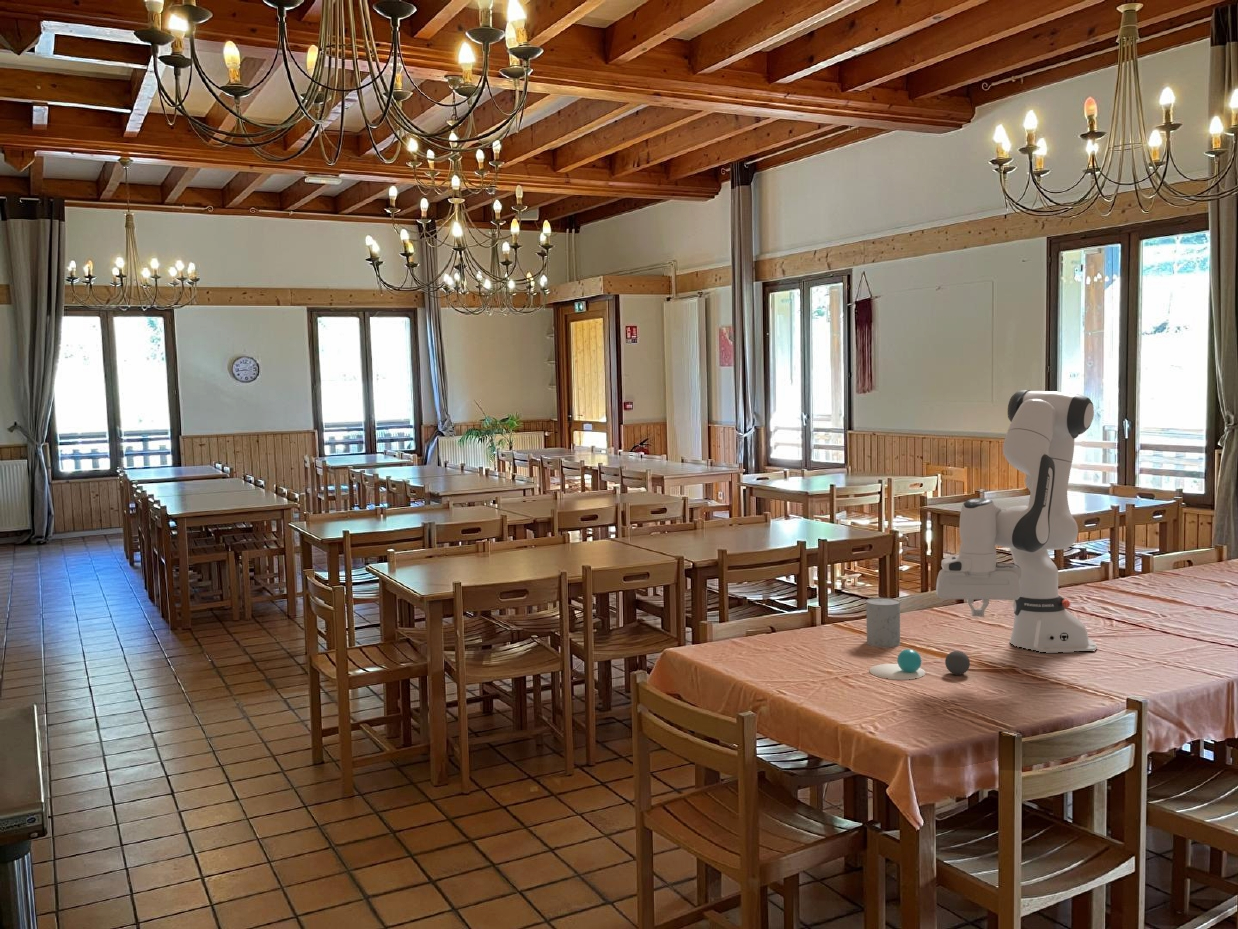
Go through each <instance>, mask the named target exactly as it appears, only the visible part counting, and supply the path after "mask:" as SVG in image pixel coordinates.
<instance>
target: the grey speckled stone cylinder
mask: <svg viewBox="0 0 1238 929" xmlns="http://www.w3.org/2000/svg"><path fill="white" fill-rule="evenodd" d="M865 603H866V608H865V609H866V644H867V645H869V646H870V647H875V648H883V647H886V648H887V649H888V648H895V647H899V646H901V601H900V600H899V599H895V598H889V597H873V598H868V599H866V600H865Z"/></svg>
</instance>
